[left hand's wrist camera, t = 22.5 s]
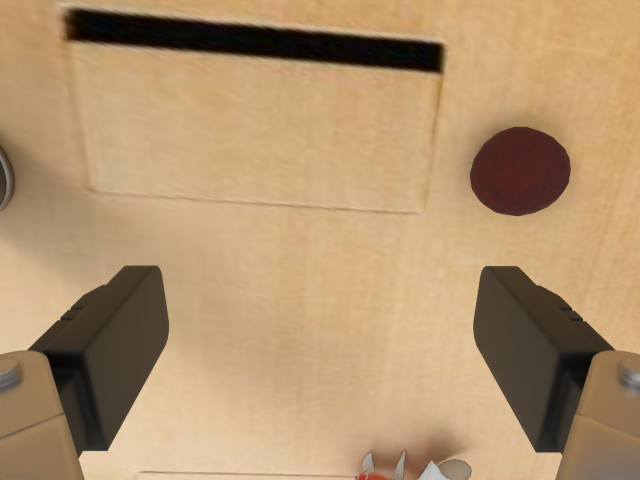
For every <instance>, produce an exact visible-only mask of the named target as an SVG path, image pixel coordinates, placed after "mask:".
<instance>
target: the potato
mask: <svg viewBox="0 0 640 480" xmlns="http://www.w3.org/2000/svg"><path fill="white" fill-rule="evenodd" d="M570 170H571V168H570V159H569V157H568V155H567V153H566V151H565V149H564V148H563V147H562V146H561V145H560V144H559V143H558V142H557V141H556V140H555V139H554V138H553V137H551V136H549V135H547V134H545V133H543V132H541V131H538V130H535V129H531V128H528V127H513V128H510V129H507V130H504V131H502V132H499V133H497V134H496V135H495V136H494V137H492V138H491V139H490V140H489V141H487V142H486V143H485V144H484V145H483V147H482V148H481V150H480V151H479V153H478V154H477V156H476V157H475V158H474V162H473V165H472V169H471V172H470V178H471V187H472V190H473V191H474V193H475V194H476V196H477V197H478V199H479V200H480V201H481V202H482V203H483V204H484V205H485V206H487V207H488V208H490V209H491V210H493V211H494V212H496V213H500V214H506V215H513V216H521V215H526V214H530V213H535V212H537V211H539V210H542V209H544V208H546V207H548V206H550V205H551V204H552V203H553V202H555V201H556V200H557V199H558V198H559V197H560V195H561V194H562V193H563V191H564V190H565V188H566V186H567V185H568V183H569V177H570Z"/></svg>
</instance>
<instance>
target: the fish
mask: <svg viewBox="0 0 640 480" xmlns="http://www.w3.org/2000/svg"><path fill="white" fill-rule="evenodd" d="M405 454H406V452H405V451H404V453H403V455H402V457H401V459H400V460H399V463H398V465H397V468H396V471H395V473H394V475H393V477H392V478H391V479H389V478H388V477H386V476H384V475H381V474H378V473H373V471H374V469H375V465H374V462H373V456H372V453H369V454H368V455H367V456H366V458H365V459H364V461H363V464H362V474H360V476H359V478H357V476H356V480H403V476H404V463H405ZM470 477H471V467H470V466H469V465H468V464H467V463H466V462H465V461H461V460H455V459H452V460H449V461H446V462H444V463H442V464H440V465H439V466H438V467H437V466H436V465H435V464H434V463H433V462H432V460H431V461H430V463H429V464H428V465H427V466H426V467H425V469H424V470H423V472H422V473H421V475H420V477H419V478H418V479H417V480H467V479H469V478H470Z"/></svg>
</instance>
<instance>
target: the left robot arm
mask: <svg viewBox="0 0 640 480" xmlns="http://www.w3.org/2000/svg"><path fill="white" fill-rule="evenodd" d="M13 186H14V179H13V173H12V169H11V166H10V163H9V161H8V159H7V157H6V155H5V153H4V152H3V150H2V149H1V148H0V211H1V210H2V209H3V208H4V207H5V206H6V205H7V203H8V202H9V200H10V198H11V195H12V192H13ZM473 330H474V338H475V342H476V345H477V347H478V349H479V351H480V353H481V355H482V356H483V358H484V360H485V362H486V363H487V365H488V367H489V369H490V371H491V372H492V374H493V376H494V378H495V380H496V381H497V383H498V385H499V387H500V389H501V390H502V392H503V394H504V396H505V398H506V399H507V401H508V403H509V405H510V407H511V408H512V410H513V412H514V414H515V415H516V417H517V419H518V421H519V423H520V424H521V426H522V428H523V430H524V432H525V433H526V435H527V437H528V439H529V441H530V442H531V444H532V446H533V448H534V450H535V451H536V452H561V454H562V459H561V463H560V466H559V469H558V473H557V476H556V479H555V480H640V355H638V354H635V353H630V352H625V351H616V350H615V349H614V348H613V347H612V346H611V345H610V344H609V343H608V342H607V341H606V340H604V339H603V338H602V337H601V336H600V335H599V334H598V333H597V332H596V331H595V330H594V329H593V328H592V327H591V326H590V325H589V324H588V323H587V322H586V321H583V318H582V317H581V316H580V315H579V314H578V313H577V312H575V311H572V308H571V307H570V306H569V305H568V304H567V303H566V302H565V301H564V300H563V299H562V298H561V297H560V296H558V295H557V294H555V293H553V292H551V291H549V290H547V289H545V288H544V287H542V286H537V285H536V284H535V283H534V282H533V281H532V280H531V279H530V278H529V277H528V276H527V275H526V274H525V273H524V272H523V271H522V270H521V269H520V268H519V267H517V266H486V267H484V268H483V270H482V272H481V276H480V282H479V289H478V295H477V302H476V309H475V315H474V323H473ZM168 333H169V319H168V312H167V306H166V299H165V292H164V285H163V279H162V273H161V270H160V268H159V267H158V266H124V267H123V268H122V269H121V270H120V271H119V272H118V273H117V274H116V275H115V276H114V277H113V278H112V279H111V280H110V281H109V283H108V284H107V285H102V286H100V287H98V288H96V289H94V290H92V291H90V292H89V293H87V294H85V295H83V296H82V297H81V298H80V299H79V300H78V301H77V302H76V303H75V304H74V305H73V306H72V307H71V310H68V311H67V312H66V313H65V314H64V315H63V316H62V317H61V319H60V320H58V321H57V322H56V323H55V324H53V325H52V326H51V327H50V328H49V329H48V330H47V331H46V332H45V333H44V334H43V335H42V336H41V337H40V338H39V339H38V340H37V341H36V342H35V343H34V344H33V345H32V346H31V347H30V348H29V349H28V350H27V351H15V352H10V353H5V354H2V355H0V480H85V479H84V476H83V473H82V469H81V466H80V463H79V457H80V455H81V454H82V452H83V451H108V449H109V447H110V445H111V443H112V442H113V440H114V438H115V436H116V434H117V433H118V431H119V429H120V427H121V425H122V423H123V422H124V420H125V418H126V416H127V414H128V413H129V411H130V409H131V407H132V405H133V403H134V402H135V400H136V398H137V396H138V394H139V393H140V391H141V389H142V387H143V385H144V383H145V382H146V380H147V378H148V376H149V374H150V373H151V371H152V369H153V367H154V365H155V364H156V362H157V360H158V358H159V356H160V354H161V353H162V351H163V349H164V347H165V345H166V342H167V339H168Z"/></svg>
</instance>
